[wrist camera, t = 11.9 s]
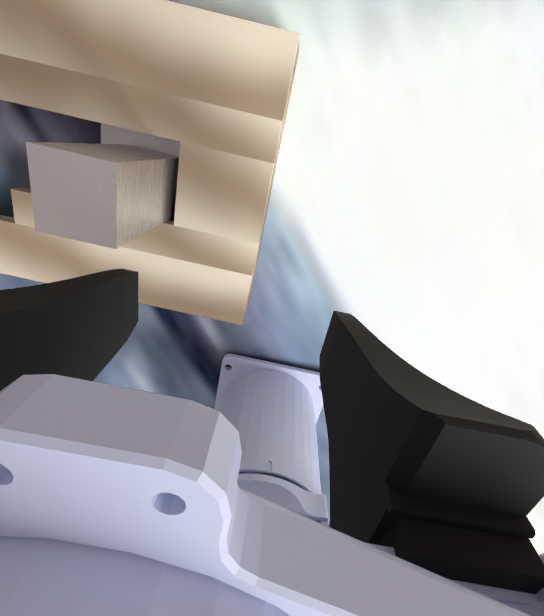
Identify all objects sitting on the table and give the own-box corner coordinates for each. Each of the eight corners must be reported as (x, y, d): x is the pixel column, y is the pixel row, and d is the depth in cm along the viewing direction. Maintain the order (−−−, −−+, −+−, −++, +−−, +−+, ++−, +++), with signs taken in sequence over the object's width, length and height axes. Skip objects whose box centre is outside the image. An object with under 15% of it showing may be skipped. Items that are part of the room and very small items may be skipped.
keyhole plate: (248, 304, 22) (242, 325, 20) (-116, 225, 21) (-173, 236, 19) (298, 51, 16) (299, 33, 14) (-207, -73, 15) (-311, -119, 13)
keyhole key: (206, 240, 21) (154, 294, 13) (110, 218, 20) (0, 260, 13) (219, 133, 18) (164, 122, 10) (110, 107, 18) (-30, 76, 10)
